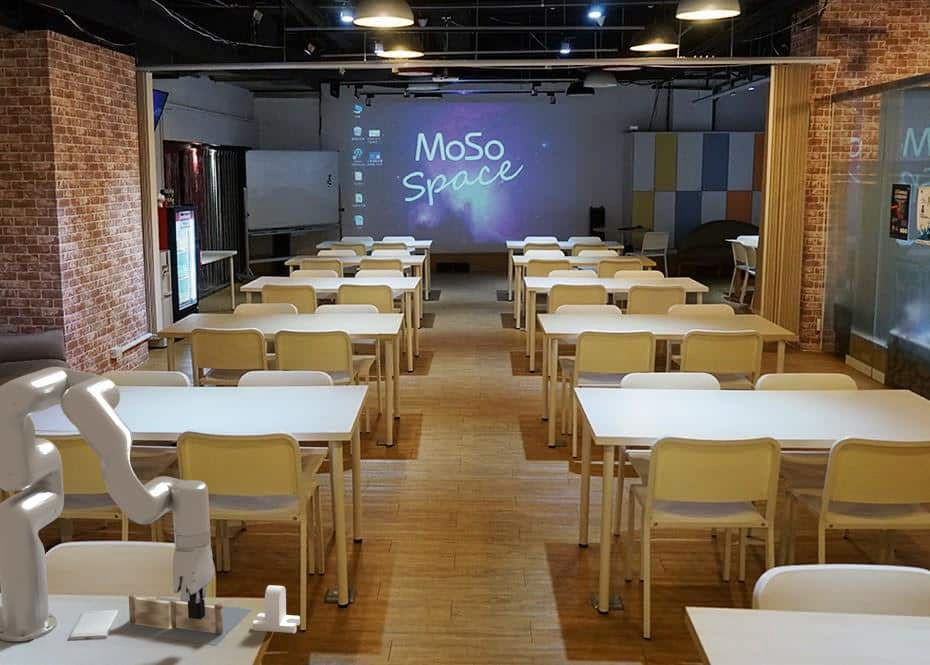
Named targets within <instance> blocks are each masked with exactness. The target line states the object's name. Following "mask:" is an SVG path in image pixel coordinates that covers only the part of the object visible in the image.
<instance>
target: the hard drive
mask: <svg viewBox="0 0 930 665" xmlns="http://www.w3.org/2000/svg"><path fill="white" fill-rule="evenodd" d="M119 614H120V611H119V609H108V610H106V609H105V610H104V609H103V610H87V611H86V610H85V611H83V612H82V613H81V615H80V617H79V619H78V620H77V622H76V624H75V626H74V628H73V629H72V631H71V633H70V635H69V637H68V640H74V641H75V640H85V639H87V640H88V639H89V640H90V639H95V640H96V639H108V637H109V634H110V633H111V630H112V628H113V626H114V624H115V622H116V620H117V619H118V616H119Z"/></svg>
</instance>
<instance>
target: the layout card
mask: <svg viewBox="0 0 930 665" xmlns="http://www.w3.org/2000/svg"><path fill="white" fill-rule="evenodd" d="M155 600H162V601H170V602H171V601H172V600H176V601H181V600H180V599H174V598H166V597H160V596H158V597H156V598H155ZM182 602H186V601H182ZM205 605H212V606H215V604H213V603H205ZM252 611H253V609H250V608H241V607H234V606H228V605H227V606H226V605H223V607H222V614H223V633H221V634H216V633H212V632H205V631H198V630H191V629H184V628H177V627H174V628H173V627H171V626H170V627H169V628H166V627H159V626H152V625H144V624H137V623H135V624H131V623H130V619H129V620H127V621H126V622H125V623H123V625H121V626H120V627H118V628H117V629H116V630H115V632H118V633H124V634H131V635H139V636H146V637H153V638H160V639H166V640H167V639H168V640H174V641H181V642H188V643H194V644H195V643H196V644H201V645H202V644H203V645H208V646H209V645H210V646H218V644H219V643H221V641H223V640H224V639H225V637H226V636H227V635H229V633H231V632H232V630H233V629H235V628H236V627H237V626H238V625H239V624H240V623H241V622H242V620H244V619H245V617H247V616H248V615H249V614H250V613H251V612H252ZM170 612H171V603H170Z"/></svg>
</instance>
